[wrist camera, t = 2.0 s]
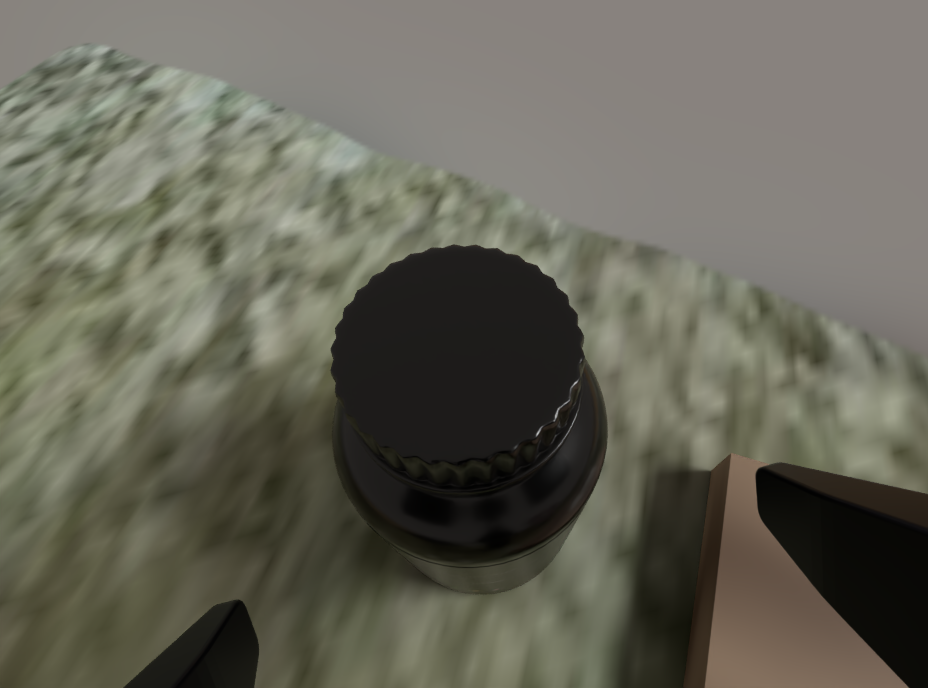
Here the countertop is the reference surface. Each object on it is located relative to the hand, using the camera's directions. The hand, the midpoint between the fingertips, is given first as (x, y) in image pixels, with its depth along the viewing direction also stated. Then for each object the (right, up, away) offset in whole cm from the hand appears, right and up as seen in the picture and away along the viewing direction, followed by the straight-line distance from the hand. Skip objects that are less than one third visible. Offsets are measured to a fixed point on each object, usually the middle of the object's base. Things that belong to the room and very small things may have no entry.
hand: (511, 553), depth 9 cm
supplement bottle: (0, -3, +11) cm, 11 cm away
